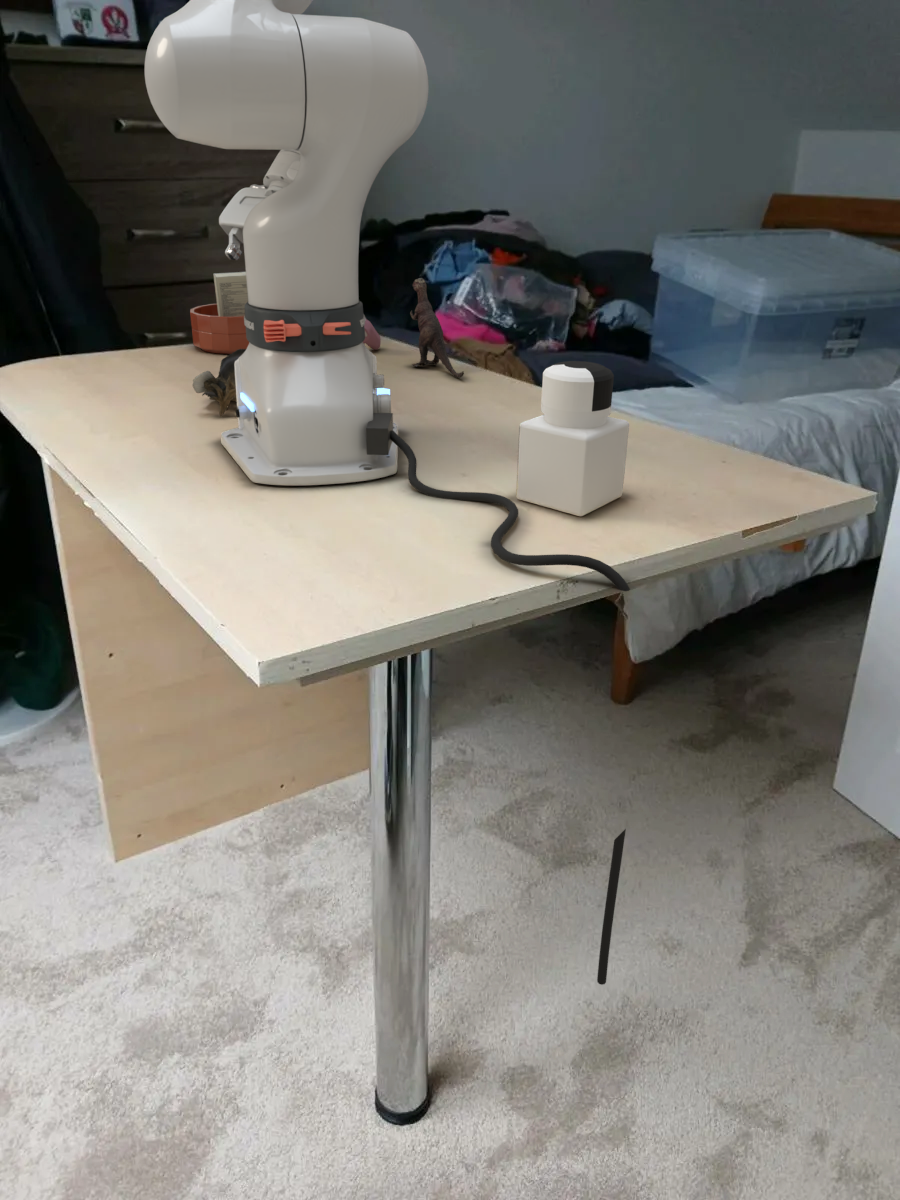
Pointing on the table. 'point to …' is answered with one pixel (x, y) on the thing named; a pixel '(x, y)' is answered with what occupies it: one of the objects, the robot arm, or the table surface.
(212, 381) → the eagle figurine
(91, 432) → the table surface
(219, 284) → the printed carton
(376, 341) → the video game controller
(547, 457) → the medicine bottle
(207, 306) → the bowl
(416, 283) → the dinosaur model
